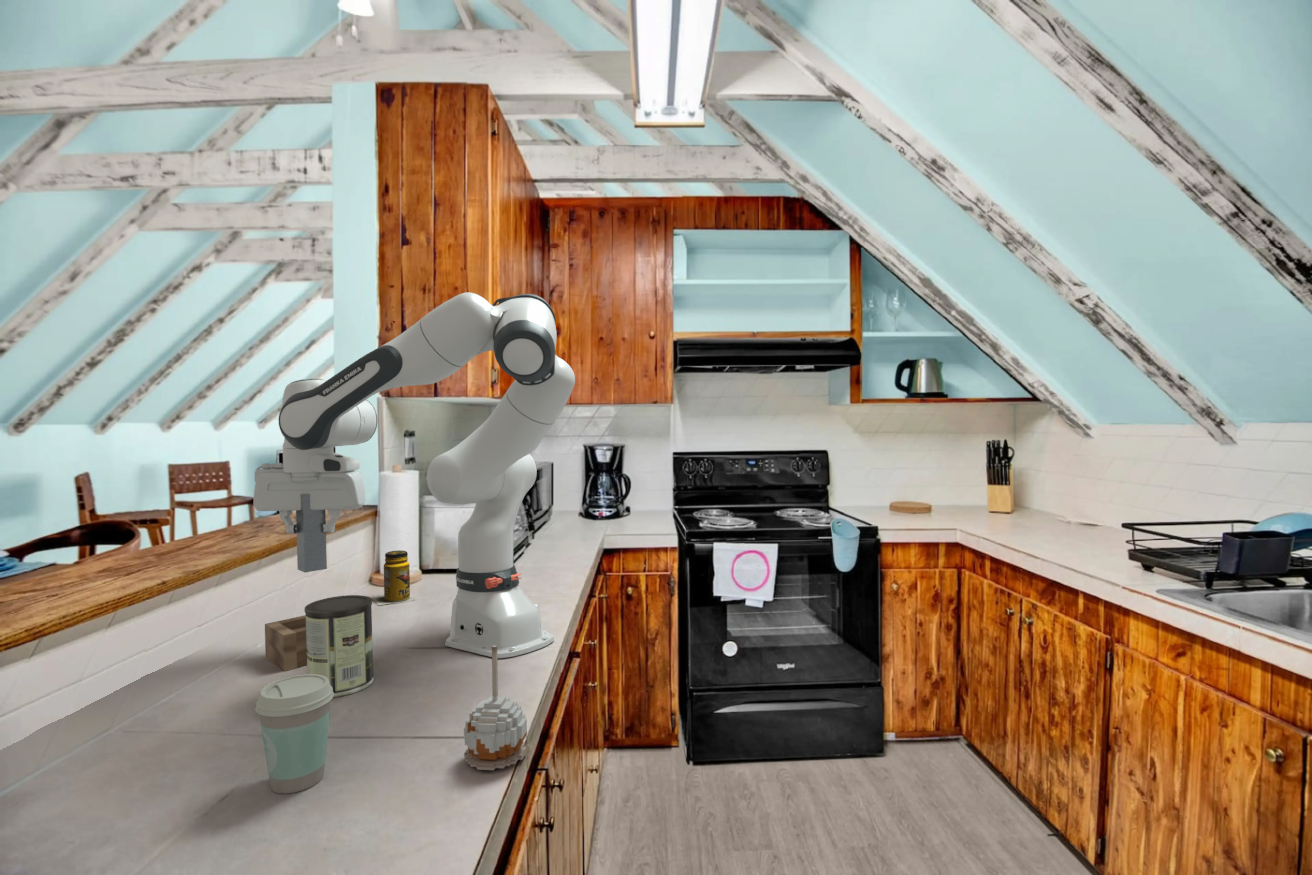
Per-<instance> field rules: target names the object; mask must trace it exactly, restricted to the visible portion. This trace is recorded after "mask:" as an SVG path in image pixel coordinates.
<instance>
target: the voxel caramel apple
mask: <svg viewBox="0 0 1312 875" xmlns="http://www.w3.org/2000/svg"><path fill="white" fill-rule="evenodd" d="M498 664H499V663H498V658H497V646H496V645H493V646H492V657H491V681H492V682H491V683H492V684H491V686H492V687H491V688H492V694H491V695H492V696H491V695H490V696H489V697H488V698H487V699H482V700H480V702H479V703H478V704H477V705H476V706H475V707H474V708H473V709H472V710H471V712H470V713H469V716H468V717H469V718H468V717H467V720H466V721H465V726H464V727H463V736H464V745H465V746H466V747H467V749H466V750H465V751H464V752H463V753H464V754H463V757H464V762H466V763H467V765H469V767H470V768H476V770H481V771H482V770H483V771H495V769H505V768H506V767H510V766H511V765H516V764H517V762H518V761H519V760H520V761H523V760H524V758H525V755H526V754H527V752H528V747H527V746H526V742H524V740H525V739H526V737H527V734H528V730H527V729H528V726H527V724H528V720H527V718H526V714H523V709H522V706H521V705H519V704H518V702H517V701H513V700H512V701H511V699H510V698H509V697H507V696H499V686H498V685H499V684H498V683H499V680H498V679H499V676H498V674H499V672H498V670H499V668H498Z"/></svg>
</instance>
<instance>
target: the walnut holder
mask: <svg viewBox="0 0 1312 875" xmlns="http://www.w3.org/2000/svg"><path fill="white" fill-rule="evenodd" d="M264 640H265V641H264V644H265V645H264V646H265V651H264V652H265V659H267V660H268V661H269V662H271V663H272V664H274V665H275V666H277V667H278V668H280V669H281V670H283V671H284V672H288V671H291V670H294V669H298V668H301V667H305V666H306V667H307V641H306V614H305V615H301V616H296V617H292V618H286V619H282V620H278V621H272V622H268V623H265V624H264Z"/></svg>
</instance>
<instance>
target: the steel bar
mask: <svg viewBox="0 0 1312 875" xmlns="http://www.w3.org/2000/svg"><path fill="white" fill-rule="evenodd" d="M300 496H301V510H295V519H296V522H295V524H296V529H297V533H296V558H297V559H296V560H297V561H296V562H297V563H296V564H297V570H298V571H300V572H303V573H311V572H316V571H321V570H327V569H328V561H327V557H328V556H327V555H328V554H327V533H324V532H323V530H324V528H323V524H326V523H327V520H326V510H311V508H310V494H300Z"/></svg>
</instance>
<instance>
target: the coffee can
mask: <svg viewBox="0 0 1312 875" xmlns="http://www.w3.org/2000/svg"><path fill="white" fill-rule="evenodd" d="M372 605H373V598H372V597H371V596H370V597H369V596H366V595H359V594H355V595H354V594H353V595H352V594H351V595H349V594H348V595H347V594H346V595H337V596H331V597H326V598H323V599H319V600H315V601H313V602H310V603H308V604H307V605H305V607H304V613H305V615H306V641H307V665H306V668H307V669H306V670H307V674H317V675H323V676H325V677H327V678H328V680H329V682H330V685H331V686H332V688H333V692H334V696H333V698H338V697H344V696H348V695H351V694H355V693H358V692H360V691H363V690H364V689H365V690H366V689H367V688H368V687H370V686H371V685H372V684H373V683H374V681H375V677H374V660H373V658H374V657H373V656H374V655H373V653H374V650H373V624H372V623H373V620H372V618H373V616H372V614H373V612H372V610H373V609H372Z"/></svg>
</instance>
